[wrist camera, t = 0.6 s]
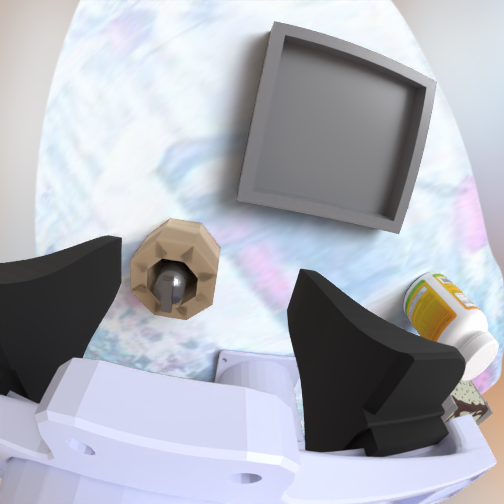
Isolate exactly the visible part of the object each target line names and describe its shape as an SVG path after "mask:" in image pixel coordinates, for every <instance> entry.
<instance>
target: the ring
mask: <svg viewBox="0 0 504 504" xmlns="http://www.w3.org/2000/svg"><path fill="white" fill-rule="evenodd" d="M219 255H220V246H219V245H218V243H217V242H216V241H215V240H214V238H213V237H212V236H211V235H210V233H209V232H208V231H207V230H206V228H205V227H204V226H203V224H202V223H197V222H191V221H184V220H178V219H171V218H170V219H169V220H168V221H166V222H165V223H164V224H163V225H161V226H160V227H159V228H157V229H156V230H155V231H153V232H152V233H151V234H150V235H148V236H147V238H146V239H145V241H144V242H143V243H142V245H141V246H140V247H139V249H138V250H137V252H136V253H135V255H134V256H133V257H132V259H131V291H132V292H133V293H134V295H135V296H136V297H137V298H138V299H139V300H140V301H141V302H142V303H143V304H144V305H145V306H146V307H147V308H148V309H149V310H150V311H151V312H152V313H153V314H154V315H160V316H165V317H171V318H177V319H183V320H187V319H189V318H191V317H192V316H194V315H196V314H197V313H199V312H201V311H202V310H204V309H206V308H208V307H209V306H211V305H212V304H213V297H214V290H215V284H216V277H217V270H218V262H219ZM162 258H163V259H169V260H175V261H181V262H185V264H186V265H187V266H188V267H189V268H190V269H191V271H192V272H193V273H192V274H190V275H189V277H188V280H187V283H186V287H185V290H184V294H183V297H182V299H181V300H180V301H179V302H178V303H176V304H173V305H172V310H171V313H165V312H161V301H160V300H158V299H157V297H156V296H155V294H154V286H155V283H156V281H157V279H158V277H159V275H160V273H161V270H162V268H163V266H164V263H163V262H162V261H161V259H162Z"/></svg>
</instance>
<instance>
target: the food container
mask: <svg viewBox="0 0 504 504" xmlns="http://www.w3.org/2000/svg"><path fill="white" fill-rule="evenodd" d="M442 406H443V408H444V410H445V414H444V415H443V416H441V418H442V420H443V422H444V423H445V422H447V421H448V420H450V419H453V418H456V417H459V416H463V415H466V414H471V415H472V417H473V419H474V420H475V422H476V424H477V426H478V425H479V424H480V423H482V422H483V421H484V420H485V419H486V418H488V417H489V416H490V415H491V414H492V411H491V408H490V406H489V405H488V403H487V402H485V400H484V399H483V397H482V396H481V394H480V393H479V391H478V390H477V388H476V387H475V386H474V384H473V383H472V381H471V380H468V381H462V380H460V382H459V383H458V385H457V386H456V388H455V389H454V390H453V391H452V393H451V394H450V395H449V396H448V398H447V399H446V400H445V401H444V402H443V404H442Z"/></svg>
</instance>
